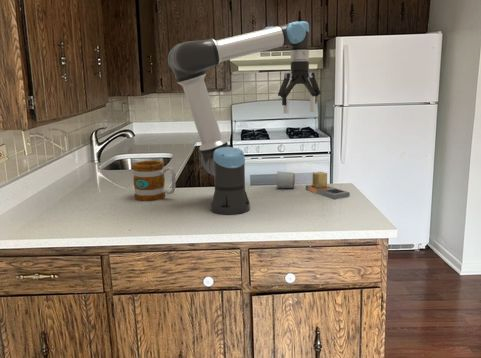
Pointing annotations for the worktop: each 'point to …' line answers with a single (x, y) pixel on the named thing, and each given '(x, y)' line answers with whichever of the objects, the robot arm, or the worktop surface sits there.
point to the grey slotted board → (329, 192)
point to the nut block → (319, 180)
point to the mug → (151, 180)
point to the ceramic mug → (285, 179)
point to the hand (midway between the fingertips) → (299, 112)
